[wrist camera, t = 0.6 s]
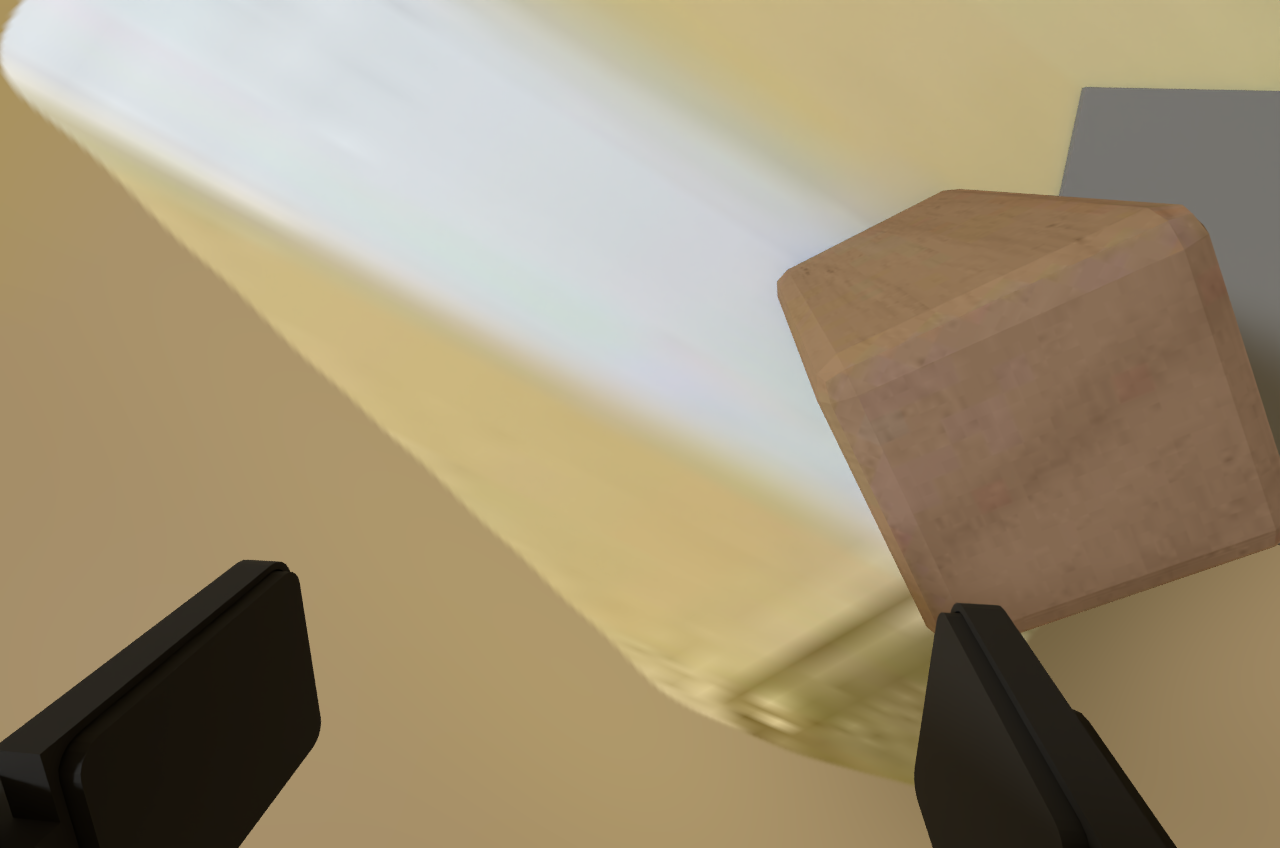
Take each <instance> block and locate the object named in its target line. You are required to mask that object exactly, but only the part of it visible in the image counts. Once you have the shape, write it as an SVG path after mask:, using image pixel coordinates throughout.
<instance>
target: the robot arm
mask: <svg viewBox="0 0 1280 848" xmlns="http://www.w3.org/2000/svg"><path fill="white" fill-rule="evenodd" d="M320 726H321V717H320V711H319V705H318V698H317V691H316V686H315V679H314V672H313V666H312V660H311V653H310V646H309V640H308V634H307V627H306V621H305V614H304V608H303V601H302V595H301V589H300V583H299V579H298V577H297V575H296V574H295V573H293V572H290V570H289V568H288V567H287V565H286V564H284V563H283V562H275V561H259V560H243V561H240V562H238V563H237V564H235V565H234V566H233V567H231V568H230V569H229V570H228V571H226V572H225V573H224V574H222V575H221V576H220V577H218V578H217V579H216V580H214V581H213V582H212V583H210V584H209V585H208V586H206V587H205V588H204V589H202V590H201V591H200V592H199V593H197V594H196V595H195V596H193V597H192V598H191V599H189V600H188V601H187V602H185V603H184V604H183V605H181V606H180V607H179V608H177V609H176V610H175V611H173V612H172V613H171V614H170V615H168V616H167V617H165V618H164V619H163V620H162V621H160V622H159V623H158V624H156V625H155V626H154V627H152V628H151V629H150V630H148V631H147V632H146V633H144V634H143V635H142V636H140V637H139V638H138V639H136V640H135V641H134V642H132V643H131V644H130V645H129V646H127V647H126V648H125V649H123V650H122V651H121V652H119V653H118V654H117V655H115V656H114V657H113V658H111V659H110V660H109V661H107V662H106V663H105V664H103V665H102V666H101V667H100V668H98V669H97V670H96V671H94V672H93V673H92V674H90V675H89V676H88V677H86V678H85V679H84V680H82V681H81V682H80V683H78V684H77V685H76V686H74V687H73V688H72V689H71V690H69V691H68V692H66V693H65V694H64V695H63V696H61V697H60V698H59V699H57V700H56V701H55V702H53V703H52V704H51V705H49V706H48V707H47V708H45V709H44V710H43V711H42V712H40V713H39V714H37V715H36V716H35V717H34V718H32V719H31V720H30V721H28V722H27V723H26V724H25V725H23V726H22V727H20V728H19V729H18V730H16V731H15V732H14V733H12V734H11V735H10V736H9V737H7V738H6V739H4V740H3V741H2V742H1V743H0V848H239V846H240V845H241V843H242V842H243V841H244V840H245V838H246V837H247V835H248V834H249V833H250V831H251V830H252V829H253V827H254V826H255V825H256V823H257V822H258V821H259V819H260V818H261V817H262V815H263V814H264V813H265V811H266V810H267V809H268V807H269V806H270V804H271V803H272V802H273V800H274V799H275V798H276V796H277V795H278V794H279V792H280V791H281V790H282V788H283V787H284V786H285V784H286V783H287V781H288V780H289V779H290V777H291V776H292V775H293V773H294V772H295V771H296V769H297V768H298V767H299V765H300V764H301V763H302V761H303V760H304V759H305V757H306V756H307V755H308V753H309V752H310V751H311V749H312V748H313V746H314V745H315V743H316V741H317V738H318V736H319V732H320ZM914 781H915V791H916V796H917V800H918V803H919V806H920V809H921V812H922V815H923V819H924V821H925V825H926V828H927V831H928V834H929V837H930V840H931V843H932V847H933V848H1177V847H1176V846H1175V844H1174V843H1173V841H1172V840H1171V839H1170V837H1169V836H1168V834H1167V833H1166V832H1165V830H1164V829H1163V827H1162V826H1161V824H1160V823H1159V821H1158V820H1157V818H1156V817H1155V816H1154V814H1153V813H1152V811H1151V810H1150V808H1149V807H1148V806H1147V804H1146V803H1145V801H1144V800H1143V798H1142V797H1141V795H1140V794H1139V793H1138V791H1137V790H1136V788H1135V787H1134V785H1133V784H1132V783H1131V781H1130V780H1129V778H1128V777H1127V775H1126V774H1125V773H1124V771H1123V770H1122V768H1121V767H1120V765H1119V764H1118V763H1117V761H1116V760H1115V758H1114V757H1113V755H1112V754H1111V752H1110V751H1109V750H1108V748H1107V747H1106V745H1105V744H1104V742H1103V741H1102V739H1101V738H1100V737H1099V735H1098V734H1097V732H1096V731H1095V729H1094V728H1093V727H1092V725H1091V724H1090V722H1089V721H1088V720H1087V719H1086V718H1085V717H1084V716H1083V715H1082V713H1080V712H1078V711H1075V710H1073V709H1071V707H1070V706H1069V704H1068V703H1067V701H1066V700H1065V698H1064V697H1063V695H1062V694H1061V692H1060V691H1059V689H1058V688H1057V686H1056V685H1055V683H1054V682H1053V681H1052V679H1051V678H1050V676H1049V675H1048V673H1047V672H1046V670H1045V669H1044V667H1043V666H1042V664H1041V663H1040V661H1039V660H1038V658H1037V657H1036V656H1035V654H1034V653H1033V651H1032V650H1031V648H1030V647H1029V645H1028V644H1027V642H1026V641H1025V639H1024V638H1023V636H1022V635H1021V633H1020V632H1019V630H1018V629H1017V628H1016V626H1015V625H1014V623H1013V622H1012V620H1011V619H1010V617H1009V616H1008V614H1007V613H1006V611H1005V610H1004V609H1003V608H1002V607H1001V606H999V605H988V604H971V603H955V604H954V605H953V607H952V609H951V613H945V612H941V613H940V614H939V616H938V618H937V622H936V628H935V635H934V642H933V649H932V655H931V662H930V669H929V675H928V682H927V689H926V696H925V702H924V709H923V716H922V723H921V729H920V736H919V743H918V750H917V756H916V763H915V772H914Z"/></svg>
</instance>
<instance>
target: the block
mask: <svg viewBox="0 0 1280 848" xmlns="http://www.w3.org/2000/svg"><path fill="white" fill-rule="evenodd" d="M777 291H778V299H779V301H780V304H781V307H782V309H783V312H784V314H785V317H786V320H787V322H788V325H789V328H790V330H791V333H792V336H793V338H794V341H795V343H796V346H797V349H798V351H799V354H800V357H801V359H802V362H803V365H804V367H805V370H806V372H807V375H808V378H809V380H810V383H811V386H812V388H813V391H814V394H815V396H816V399H817V401H818V403H819V405H820V408H821V410H822V412H823V414H824V416H825V418H826V420H827V422H828V424H829V426H830V428H831V430H832V432H833V434H834V436H835V438H836V441H837V443H838V445H839V447H840V449H841V451H842V453H843V455H844V457H845V459H846V461H847V463H848V465H849V467H850V469H851V471H852V474H853V476H854V478H855V480H856V482H857V484H858V486H859V488H860V490H861V492H862V494H863V496H864V498H865V500H866V502H867V504H868V507H869V509H870V511H871V513H872V515H873V517H874V519H875V521H876V523H877V525H878V527H879V529H880V531H881V533H882V535H883V537H884V540H885V542H886V544H887V546H888V548H889V550H890V552H891V554H892V556H893V558H894V560H895V562H896V564H897V566H898V568H899V570H900V573H901V575H902V577H903V579H904V581H905V583H906V585H907V587H908V589H909V591H910V593H911V595H912V597H913V599H914V601H915V603H916V606H917V608H918V610H919V612H920V614H921V616H922V618H923V620H924V622H925V624H926V626H927V627H928V628H929V629H930V630H931V631H933V632H934V633H935V628H936V622H937V618H938V616H939V614H940V613H941V612H945V613H951V609H952V607H953V605H954V604H955V603H971V604H988V605H999V606H1001V607H1002V608H1003V609H1004V610H1005V611H1006V613H1007V614H1008V616H1009V617H1010V619H1011V620H1012V622H1013V623H1014V625H1015V626H1016V628H1017V629H1018V630H1019V632H1020V633H1021V632H1024V631H1027V630H1030V629H1033V628H1036V627H1039V626H1042V625H1045V624H1048V623H1051V622H1054V621H1057V620H1060V619H1062V618H1065V617H1068V616H1071V615H1074V614H1077V613H1080V612H1083V611H1086V610H1089V609H1092V608H1095V607H1098V606H1101V605H1103V604H1107V603H1110V602H1113V601H1115V600H1118V599H1121V598H1124V597H1127V596H1130V595H1133V594H1136V593H1139V592H1142V591H1145V590H1148V589H1151V588H1154V587H1157V586H1160V585H1163V584H1166V583H1168V582H1171V581H1174V580H1177V579H1180V578H1183V577H1186V576H1189V575H1192V574H1195V573H1198V572H1201V571H1204V570H1207V569H1210V568H1213V567H1216V566H1218V565H1221V564H1224V563H1227V562H1230V561H1233V560H1236V559H1239V558H1242V557H1245V556H1248V555H1251V554H1254V553H1257V552H1260V551H1263V550H1266V549H1268V548H1271V547H1274V546H1276V545H1277V544H1279V543H1280V457H1279V454H1278V450H1277V447H1276V444H1275V441H1274V438H1273V435H1272V431H1271V428H1270V425H1269V422H1268V419H1267V416H1266V412H1265V409H1264V406H1263V403H1262V400H1261V397H1260V393H1259V390H1258V387H1257V384H1256V381H1255V378H1254V374H1253V371H1252V368H1251V365H1250V362H1249V359H1248V355H1247V352H1246V349H1245V346H1244V343H1243V340H1242V336H1241V333H1240V330H1239V327H1238V324H1237V321H1236V317H1235V314H1234V311H1233V308H1232V305H1231V302H1230V298H1229V295H1228V292H1227V289H1226V286H1225V283H1224V279H1223V276H1222V273H1221V270H1220V267H1219V263H1218V260H1217V257H1216V254H1215V251H1214V248H1213V244H1212V241H1211V238H1210V235H1209V233H1208V231H1207V230H1206V228H1205V226H1204V225H1203V224H1202V223H1201V222H1200V221H1199V220H1198V219H1197V218H1196V217H1195V216H1194V215H1193V213H1191V212H1190V211H1189V210H1188V209H1187V208H1186V207H1185V206H1183V205H1180V204H1166V203H1151V202H1137V201H1123V200H1108V199H1094V198H1079V197H1065V196H1051V195H1036V194H1022V193H1008V192H993V191H979V190H964V189H957V190H947V191H942V192H940V193H938V194H936V195H934V196H932V197H930V198H928V199H926V200H924V201H922V202H920V203H918V204H916V205H914V206H912V207H910V208H908V209H906V210H904V211H902V212H900V213H898V214H896V215H895V216H893V217H891V218H889V219H887V220H885V221H883V222H881V223H879V224H877V225H875V226H873V227H871V228H869V229H867V230H865V231H863V232H861V233H859V234H857V235H855V236H853V237H851V238H849V239H847V240H845V241H843V242H841V243H839V244H837V245H836V246H834V247H832V248H830V249H828V250H826V251H824V252H822V253H820V254H818V255H816V256H814V257H812V258H810V259H808V260H806V261H804V262H802V263H800V264H798V265H796V266H794V267H792V268H790V269H788V270H787V271H786V272H785V273H784V274H783V276H782V277H781V278H780V279H779V280H778V281H777Z"/></svg>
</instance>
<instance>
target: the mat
mask: <svg viewBox="0 0 1280 848" xmlns="http://www.w3.org/2000/svg"><path fill="white" fill-rule="evenodd" d="M1059 196H1065V197H1079V198H1094V199H1108V200H1123V201H1137V202H1151V203H1166V204H1180V205H1183V206H1185V207H1186V208H1187V209H1188V210H1189V211H1190V212H1191V213H1193V215H1194V216H1195V217H1196V218H1197V219H1198V220H1199V221H1200V222H1201V223H1202V224H1203V225H1204V226H1205V228H1206V230H1207V231H1208V233H1209V235H1210V238H1211V241H1212V244H1213V248H1214V251H1215V254H1216V257H1217V260H1218V263H1219V267H1220V270H1221V273H1222V276H1223V279H1224V283H1225V286H1226V289H1227V292H1228V295H1229V298H1230V302H1231V305H1232V308H1233V311H1234V314H1235V317H1236V321H1237V324H1238V327H1239V330H1240V333H1241V336H1242V340H1243V343H1244V346H1245V349H1246V352H1247V355H1248V359H1249V362H1250V365H1251V368H1252V371H1253V374H1254V378H1255V381H1256V384H1257V387H1258V390H1259V393H1260V397H1261V400H1262V403H1263V406H1264V409H1265V412H1266V416H1267V419H1268V422H1269V425H1270V428H1271V431H1272V435H1273V438H1274V441H1275V444H1276V447H1277V450H1278V454H1279V457H1280V91H1247V90H1198V89H1149V88H1100V87H1085V88H1082V91H1081V96H1080V101H1079V105H1078V110H1077V115H1076V119H1075V124H1074V129H1073V133H1072V138H1071V143H1070V147H1069V152H1068V157H1067V161H1066V166H1065V171H1064V175H1063V180H1062V185H1061V189H1060V194H1059ZM1277 545H1280V543H1279V544H1277Z"/></svg>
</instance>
